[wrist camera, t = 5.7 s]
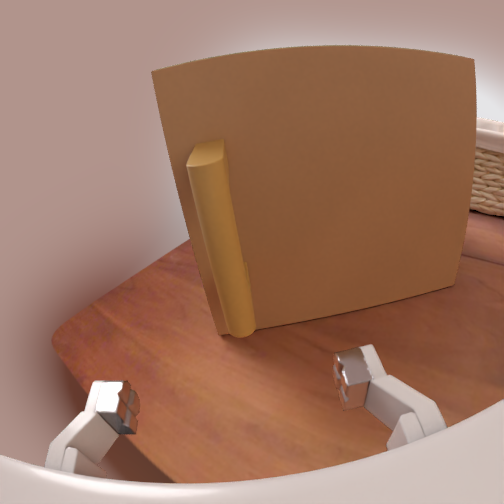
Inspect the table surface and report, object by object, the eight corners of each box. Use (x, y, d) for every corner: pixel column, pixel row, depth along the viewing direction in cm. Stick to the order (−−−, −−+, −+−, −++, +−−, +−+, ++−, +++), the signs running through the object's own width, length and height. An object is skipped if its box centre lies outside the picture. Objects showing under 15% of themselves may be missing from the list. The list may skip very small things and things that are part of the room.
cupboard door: (485, 322, 24) (528, 65, 12) (219, 389, 24) (121, 67, 12) (449, 280, 31) (467, 58, 18) (218, 328, 31) (154, 71, 19)
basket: (520, 195, 46) (528, 126, 38) (534, 230, 35) (549, 143, 28) (420, 175, 59) (420, 108, 51) (409, 203, 48) (411, 117, 41)
